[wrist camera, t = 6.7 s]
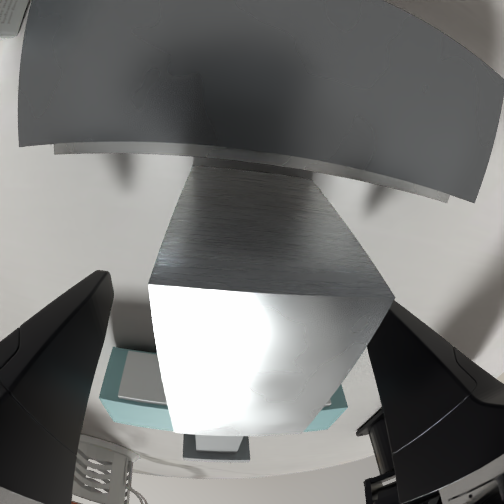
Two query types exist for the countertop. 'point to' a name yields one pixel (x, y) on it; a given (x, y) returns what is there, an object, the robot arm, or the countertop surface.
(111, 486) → the french press
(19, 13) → the skincare box
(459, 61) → the gray curved slab
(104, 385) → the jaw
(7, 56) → the countertop surface
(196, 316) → the block
